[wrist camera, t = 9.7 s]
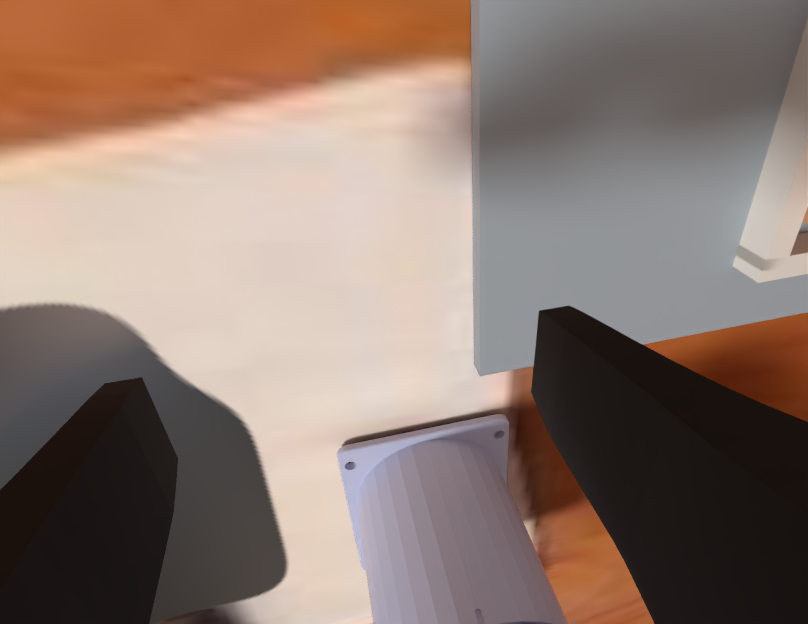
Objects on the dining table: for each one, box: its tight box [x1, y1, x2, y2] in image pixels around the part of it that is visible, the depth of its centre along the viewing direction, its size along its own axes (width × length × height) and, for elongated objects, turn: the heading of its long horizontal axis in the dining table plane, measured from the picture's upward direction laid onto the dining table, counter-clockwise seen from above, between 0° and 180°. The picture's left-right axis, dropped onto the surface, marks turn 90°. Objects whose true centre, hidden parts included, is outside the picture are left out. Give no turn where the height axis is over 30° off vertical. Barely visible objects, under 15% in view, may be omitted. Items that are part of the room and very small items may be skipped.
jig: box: [471, 0, 808, 376], centre depth 18 cm, size 18×19×2 cm
